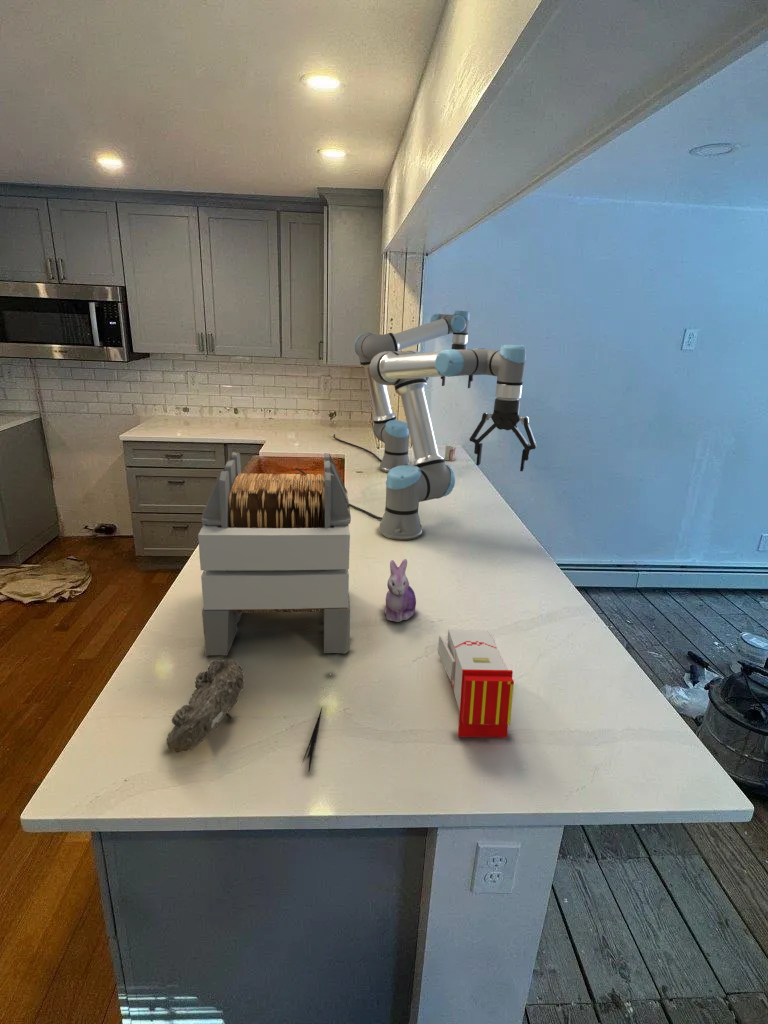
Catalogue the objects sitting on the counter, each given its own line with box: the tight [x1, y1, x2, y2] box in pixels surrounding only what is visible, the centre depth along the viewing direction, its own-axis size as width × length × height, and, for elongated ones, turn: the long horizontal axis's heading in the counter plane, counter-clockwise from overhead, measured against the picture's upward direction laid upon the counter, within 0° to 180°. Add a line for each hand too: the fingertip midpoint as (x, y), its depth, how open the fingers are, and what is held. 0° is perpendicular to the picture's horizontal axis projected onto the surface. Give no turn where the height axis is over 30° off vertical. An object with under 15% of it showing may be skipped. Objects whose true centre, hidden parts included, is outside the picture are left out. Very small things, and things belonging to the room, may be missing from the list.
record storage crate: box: [197, 451, 352, 657], centre depth 136 cm, size 34×33×41 cm
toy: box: [437, 628, 515, 738], centre depth 117 cm, size 12×13×30 cm
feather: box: [301, 673, 332, 771], centre depth 108 cm, size 2×28×2 cm
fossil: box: [166, 658, 245, 754], centre depth 106 cm, size 22×10×15 cm
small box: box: [444, 443, 457, 462], centre depth 301 cm, size 5×4×8 cm
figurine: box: [384, 558, 417, 623], centre depth 145 cm, size 9×10×15 cm
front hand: (499, 467), depth 176 cm, fingers open, 13 cm apart
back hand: (456, 386), depth 290 cm, fingers open, 13 cm apart
